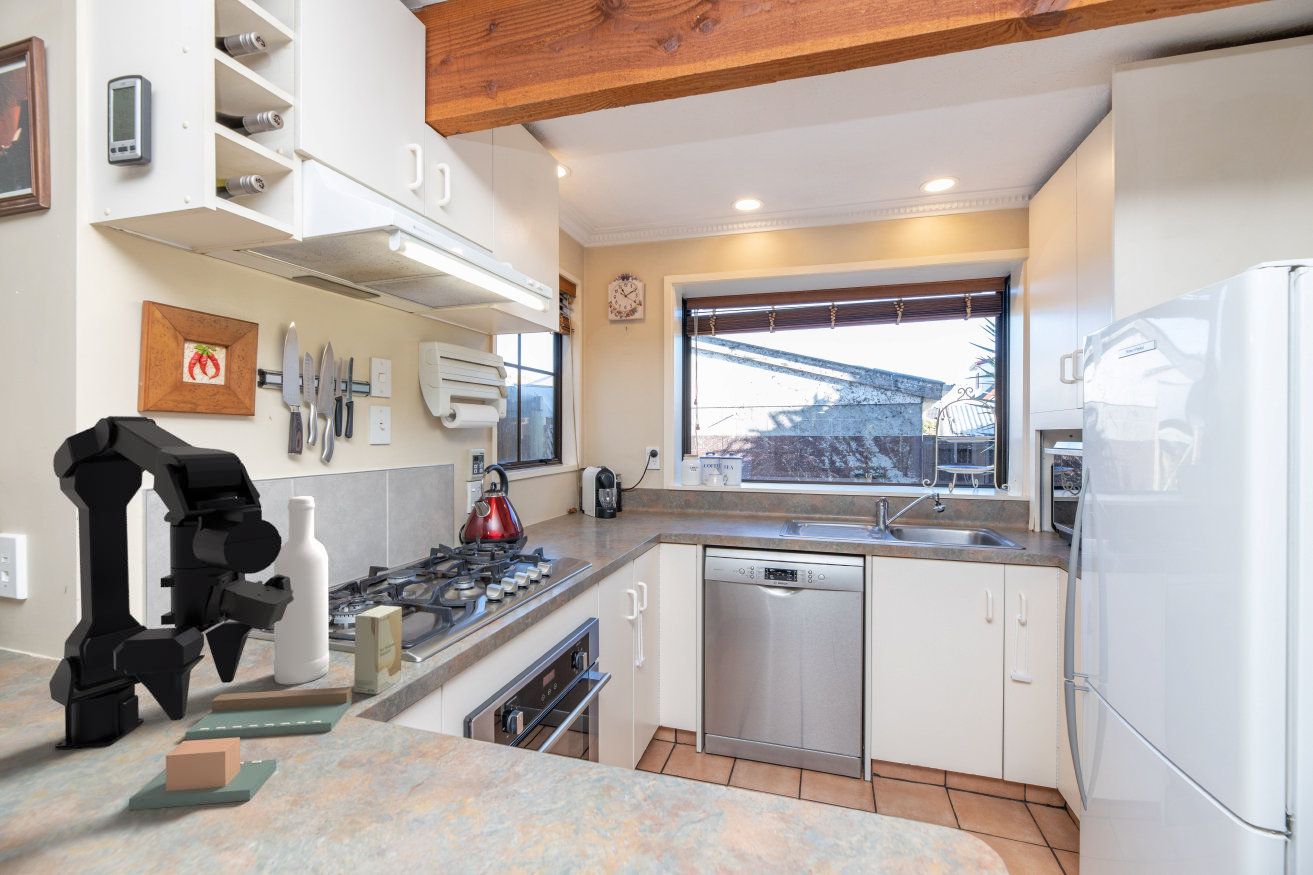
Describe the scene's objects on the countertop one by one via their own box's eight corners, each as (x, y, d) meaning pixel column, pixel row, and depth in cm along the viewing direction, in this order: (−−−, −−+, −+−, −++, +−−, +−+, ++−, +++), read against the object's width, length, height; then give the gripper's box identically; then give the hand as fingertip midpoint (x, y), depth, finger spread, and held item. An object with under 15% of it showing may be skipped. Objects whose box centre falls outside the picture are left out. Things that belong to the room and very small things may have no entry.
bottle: (270, 689, 93) (270, 501, 92) (276, 670, 100) (275, 495, 99) (328, 679, 97) (327, 498, 96) (330, 662, 104) (329, 493, 103)
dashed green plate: (185, 740, 78) (185, 720, 77) (221, 711, 85) (220, 693, 85) (331, 731, 80) (331, 711, 80) (352, 703, 88) (352, 686, 88)
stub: (129, 809, 63) (128, 762, 63) (166, 777, 69) (166, 733, 69) (249, 799, 65) (249, 753, 65) (276, 768, 71) (276, 726, 71)
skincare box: (377, 695, 91) (377, 618, 91) (353, 693, 92) (352, 615, 91) (403, 678, 97) (403, 605, 97) (380, 676, 98) (380, 603, 98)
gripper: (234, 581, 58) (236, 736, 58) (314, 544, 77) (315, 662, 77) (108, 586, 57) (110, 745, 57) (221, 547, 75) (222, 667, 75)
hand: (204, 699), depth 66 cm, fingers open, 9 cm apart
